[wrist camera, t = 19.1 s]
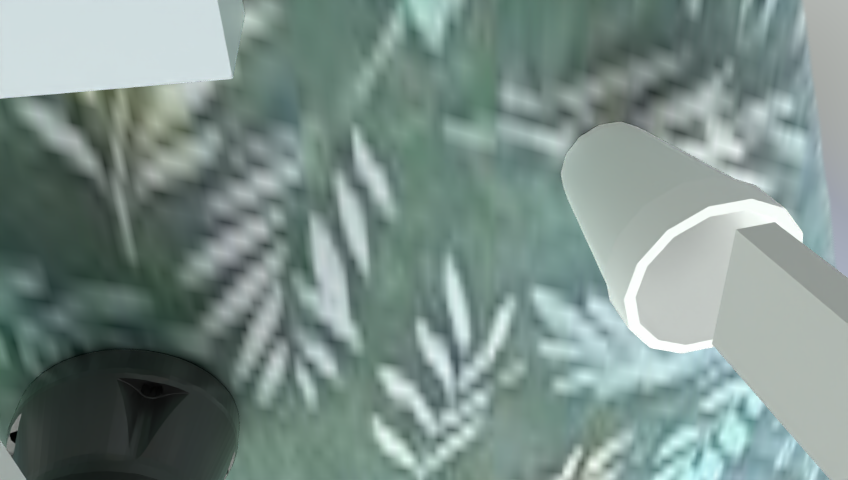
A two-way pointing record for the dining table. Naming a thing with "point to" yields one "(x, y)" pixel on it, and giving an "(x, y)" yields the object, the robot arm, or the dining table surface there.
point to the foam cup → (661, 230)
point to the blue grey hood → (115, 44)
